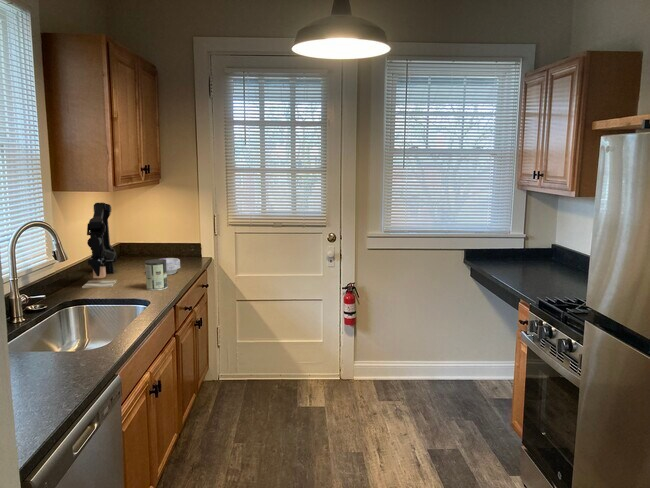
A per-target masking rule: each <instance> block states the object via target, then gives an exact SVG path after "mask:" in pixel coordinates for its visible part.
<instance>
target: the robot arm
mask: <svg viewBox="0 0 650 488" xmlns="http://www.w3.org/2000/svg"><path fill="white" fill-rule="evenodd" d="M111 213H112V205H111V204H109V203H106V202H95V203H94V204H93V217H92V218H89V221H88V223H87V229H86V236H90V237H89V238H88V240H87V246H88V247H89V248H90V251H91V256H90V258H89V259H88V260H87V265H88V266H91V268H92V271H93V270H94V272H95V273H96V275H97V276H100V266H105V268H106V274H114V273H115V272H116V270H115V268H114V267H115V266H114V263H116V262H118V259H117V251H115V248H114V247H113V245H111V242H110V240H111V239H110V229H109V228H110V227H109V218H110V216H111Z"/></svg>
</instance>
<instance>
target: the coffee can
mask: <svg viewBox="0 0 650 488" xmlns="http://www.w3.org/2000/svg"><path fill="white" fill-rule="evenodd" d="M144 264H145V268H144V269H145V282H146V290H147V291H152V292H153V291H154V292H155V291H162V290H166V289H168V275H167V268H166V260H164V259H163V258H155V259H148V260H145V261H144Z"/></svg>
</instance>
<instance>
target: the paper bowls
mask: <svg viewBox="0 0 650 488" xmlns="http://www.w3.org/2000/svg"><path fill="white" fill-rule="evenodd" d="M162 259H164V260H166V268H167V276H170V275H174V274H176V273H177V272H178V269H181V259H179V258H175V257H165V258H162Z"/></svg>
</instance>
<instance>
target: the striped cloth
mask: <svg viewBox="0 0 650 488" xmlns="http://www.w3.org/2000/svg"><path fill="white" fill-rule="evenodd" d="M117 282H118V279H117V278H115V279H95V280H93V279H91V280H89V279H88V281H86V283H85V284H83V285H82V286H81V289H96V288H97V289H98V288H99V289H100V288H101V289H103V288H112V287H113V286H114V285H116V283H117Z"/></svg>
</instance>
